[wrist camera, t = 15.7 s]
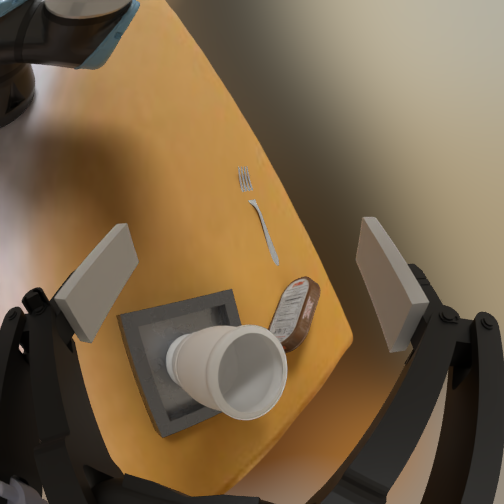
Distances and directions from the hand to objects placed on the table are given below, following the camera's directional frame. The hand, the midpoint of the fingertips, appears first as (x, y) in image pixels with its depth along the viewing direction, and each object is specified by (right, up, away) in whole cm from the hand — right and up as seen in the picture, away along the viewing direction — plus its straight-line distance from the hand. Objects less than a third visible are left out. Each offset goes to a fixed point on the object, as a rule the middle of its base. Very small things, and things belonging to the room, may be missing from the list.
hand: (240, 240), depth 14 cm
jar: (-9, -17, +23) cm, 30 cm away
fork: (+2, +5, +40) cm, 41 cm away
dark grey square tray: (-9, -17, +23) cm, 30 cm away
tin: (+5, -13, +37) cm, 39 cm away
